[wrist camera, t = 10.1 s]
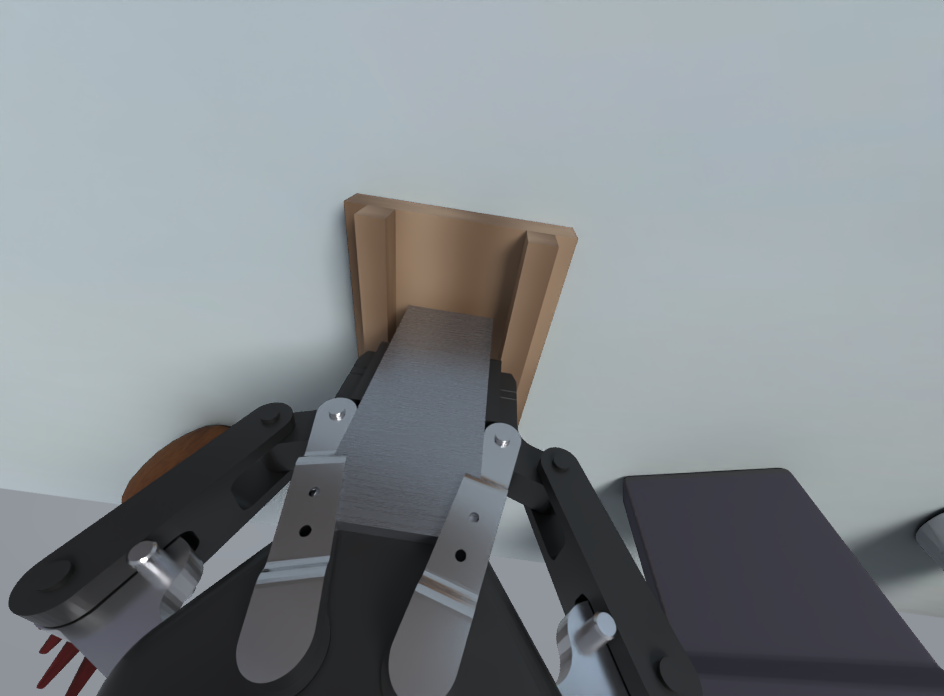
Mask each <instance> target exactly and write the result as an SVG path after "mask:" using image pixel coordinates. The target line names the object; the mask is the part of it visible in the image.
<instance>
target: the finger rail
mask: <svg viewBox="0 0 944 696" xmlns="http://www.w3.org/2000/svg"><path fill="white" fill-rule="evenodd" d="M344 209H345V219H346V230H347V240H348V251H349V262H350V272H351V283H352V293H353V304H354V315H355V325H356V336H357V346H358V357H360V356H361V355H363V354H364V353H366V352H367V351H373V352H376V351H377V349H378V347H379V345H380V343H381V342H382V341H384V342H391V340H392V338H393V336H394V334H395V332H396V330H397V328H398V326H399V324H400V322H401V320H402V318H403V316H404V314H405V312H406V310H407V308H408V306H409V305H412V306H419V307H425V308H431V309H437V310H443V311H450V312H456V313H462V314H468V315H475V316H481V317H487V318H493V326H492V339H491V352H490V359H496V360H501V361H502V364H501V372H504V373H510V374H512V375H513V377H514V379H515V381H516V384H517V392H516V393H517V427H518V425H519V421H520V418H521V415H522V412H523V409H524V406H525V403H526V400H527V397H528V393H529V390H530V387H531V384H532V381H533V378H534V375H535V372H536V369H537V365H538V362H539V359H540V356H541V353H542V350H543V347H544V344H545V340H546V337H547V334H548V331H549V328H550V325H551V322H552V319H553V316H554V312H555V309H556V306H557V303H558V300H559V297H560V294H561V291H562V288H563V284H564V281H565V278H566V275H567V272H568V269H569V266H570V263H571V259H572V256H573V253H574V250H575V247H576V244H577V241H578V237H577V235H576V233H575V231H574V229H573V228H570V227H563V226H557V225H551V224H545V223H539V222H532V221H526V220H520V219H514V218H507V217H501V216H495V215H489V214H482V213H476V212H470V211H464V210H457V209H451V208H445V207H439V206H433V205H426V204H420V203H414V202H408V201H401V200H395V199H389V198H383V197H376V196H370V195H364V194H358V193H357V194H355V195H353V196H352V197H350V198H348V199H346V200H345V201H344Z"/></svg>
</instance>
